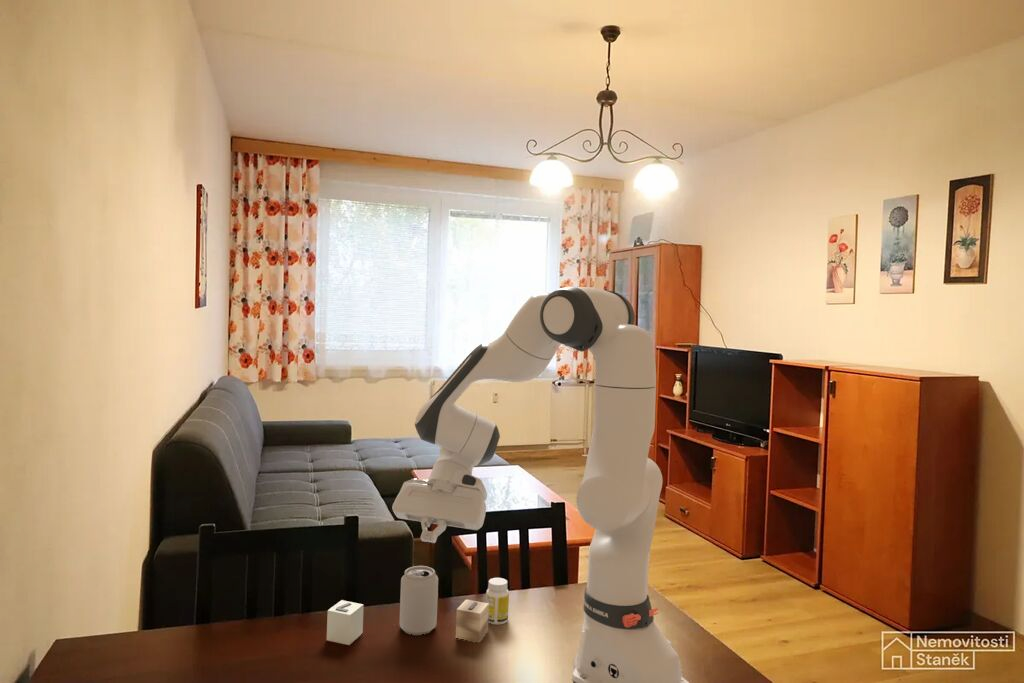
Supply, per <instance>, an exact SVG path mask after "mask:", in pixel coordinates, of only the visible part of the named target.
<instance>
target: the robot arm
mask: <svg viewBox="0 0 1024 683" xmlns="http://www.w3.org/2000/svg"><path fill="white" fill-rule="evenodd" d="M635 317H636V315H635V310H634V308H633V305H632V303H631V302H630V300H628V299H627V298H626V297H625V296H623V295H622V294H620V293H618V292H616V291H611V290H603V289H599V288H597V287H591V286H581V287H580V286H579V287H576V286H565V287H561V288H557V289H556V290H554V291H552V292H547V291H540V292H537V293H534V294H532V295H531V296H530V297H529V298H528V300H526V302H525V303H524V304H523V305H522V306H521V308H519V310H518V311H517V313H516V314H515V315H514V316H513V318H512V320H511V321H510V322H509V325H508V326H507V328H506V329H505V331H504V332H503V334H501V336H499V337H497V339H495V340H494V341H491V342H489V343H481V344H479V345H478V346H477V347H475V348H474V349H473V350H472V351H471V352H470V353H469V354H468V355H467V356H466V357H465V359H464V360H463V361H462V362H461V363H460V364H459V366H457V368H456V369H455V370H454V371H453V373H452V374H451V375H450V376H449V377H448V378H447V379H446V380H445V382H443V384H442V385H441V387H439V389H438V390H437V391H435V393H434V394H433V395H432V396H430V398H429V399H428V400H427V401H426V402H425V403H424V404H423V405H422V406H421V407H420V409H419V411H418V412H417V415H416V418H415V421H414V427H415V429H416V433H417V435H418V437H419V438H420V440H422V441H424V442H427V443H429V444H432V445H437V446H439V447H440V448H439V456H438V457H437V459H436V461H434V464H433V467H432V469H431V472H430V474H429V477H428V479H419V478H418V479H417V478H411V479H409V480H406V481H404V482H403V484H402V486H401V488H400V490H399V493H398V494H397V495H396V498H395V499H394V502H393V503H392V507H391V508H392V512H393V513H394V515H395V516H396V518H398V519H401V520H407V521H415V522H420V524H421V529H422V532H421V535H420V540H421V542H426V543H432V544H436V542H437V539H438V537H439V536H440V535H442V533H443V532H445V531H446V529H447V527H452V528H453V527H454V528H461V529H466V530H472V531H478V530H480V529H481V528H482V527H483V525H484V522H485V518H486V512H487V504H486V500H487V498H488V492H487V490H486V489H487V488H486V486H485V484H484V483H483V481H482V480H481V479H480V478H479V477H476V476H474V475H473V470H474V467H475V466H476V467H478V466H481V465H483V464H486V463H487V462H490V461H491V460H492V459H493V458H494V455H495V454H496V450H497V448H498V447H497V446H498V443H499V440H500V437H501V436H500V435H501V434H500V431H499V427H498V426H497V424H496V423H495V422H493V421H492V420H490V419H489V418H486V417H484V416H482V415H480V414H478V413H475V412H474V411H471V410H469V409H466V408H464V407H463V406H460V405H458V404H457V403H456V402H457V401H458V399H460V397H461V396H462V395H463V393H465V391H466V390H467V389H468V388H469V387H470V386H471V385H472V384H473V383H475V382H477V381H483V380H484V381H485V380H495V381H504V382H507V383H508V382H510V383H523V382H527V381H531V380H532V381H533V380H534V379H536V378H538V377H539V376H540V375H541V374H542V373H543V372H544V371H545V370H546V369H547V366H548V365H549V364H550V363H551V361H552V359H553V358H554V356H555V354H556V353H557V351H558V350H559V348H560V346H561V345H564V346H567V347H570V348H571V349H573V350H576V351H578V352H585V351H587V350H588V351H589V352H590V353H591V354H592V356H593V358H594V363H595V375H594V376H595V377H594V378H595V379H594V404H593V406H594V407H593V408H594V409H593V424H592V425H593V426H592V433H591V437H590V443H589V449H588V452H587V456H586V461H585V467H584V473H583V477H582V480H581V483H580V485H579V488H578V489H577V490H578V491H577V492H576V500H575V501H576V502H575V503H576V506H577V510H578V513H579V515H580V517H581V518H582V520H583V521H584V522H585V523H586V524H587V525H588V526H589V527H591V528H593V529H595V530H594V534H593V535H592V536H593V537H592V540H591V541H590V545H589V549H588V559H587V560H588V562H587V583H586V588H584V592H583V593H584V594H583V611H584V618H583V619H584V620H583V623H582V628H581V632H580V639H579V645H578V650H577V653H576V656H575V658H574V659H575V660H574V661H573V662H574V664H573V665H574V669H573V672H572V679H571V680H572V681H573V682H574V683H690V682H689V681H688V680H687V679H685V677H683V675H682V667H681V660H680V657H679V654H678V653H677V651H676V650H675V649H674V646H673V643H672V642H671V641H670V640H668V639H667V638H666V637H665V635H664V633H663V632H662V631H661V629H660V628H659V626H658V625H657V624H656V623H655V621H654V619H655V617H654V616H656V615H658V614H659V612H657V611H658V610H659V607H655V608H652V604H651V599H650V596H649V594H648V587H649V586H648V585H649V584H648V582H649V567H650V557H651V556H650V555H651V549H652V548H651V547H652V542H653V537H654V533H655V528H656V522H657V516H658V508H659V503H660V497H661V492H662V488H663V484H664V483H663V481H664V480H663V475H662V472H661V468H660V467H659V466H658V464H657V463H656V462H655V461H653V459H651V458H649V452H650V448H651V443H652V439H653V436H654V433H655V427H656V425H655V424H656V403H657V402H656V399H657V398H656V397H657V396H656V395H657V371H656V370H657V368H656V355H655V349H654V342H653V341H654V340H653V338H652V336H651V334H650V333H649V332H648V331H647V330H646V329H645V328H643V327H640V326H639V325H635V321H636V320H635V319H636V318H635ZM431 524H434V525H436V527H435V528H434V529H433V530H431V531H430V530H428V528H430V526H431Z"/></svg>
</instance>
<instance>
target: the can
mask: <svg viewBox="0 0 1024 683" xmlns="http://www.w3.org/2000/svg"><path fill="white" fill-rule="evenodd" d="M438 586H439V577H438V575H437V574H436V571H435V569H434V568H432V567H429V566H427V565H426V566H425V565H416V566H415V565H414V566H410V567H408V568H407V569H405V570H404V575H402V577H401V579H400V599H399V602H400V603H399V604H400V605H399V624H398V625H399V627H400V628H401V630H402V631H403V632H405V633H406V634H408V635H411V634H412V636H421V635H422V634H424V635H427V634H429V633H431V631H433V629H435V628H436V627H437V624H438V623H437V622H438V621H437V618H438V594H439V593H438V590H439V587H438ZM426 633H427V634H426ZM422 636H423V635H422Z"/></svg>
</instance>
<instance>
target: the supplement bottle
mask: <svg viewBox="0 0 1024 683" xmlns="http://www.w3.org/2000/svg"><path fill="white" fill-rule="evenodd" d="M485 593H486V594H485V597H486V598H485V603H489V614H488V624H490V623H491V625H494V626H495V625H496V626H497V625H504V624H506V623H507V622H508V620H509V602H510V600H509V599H510V598H509V597H510V596H509V595H510V591H509V589H508V580H507V579H505V578H502V577H493V578H490V579H489V580H488V586H487V589H486V592H485Z"/></svg>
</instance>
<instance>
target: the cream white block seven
mask: <svg viewBox="0 0 1024 683" xmlns="http://www.w3.org/2000/svg"><path fill="white" fill-rule="evenodd" d="M364 606H365V605H364V604H362V603H357V602H353V601H347V600H344V599H341V600H340V601H338V602H337V603H336V604H333V606H331V607H330V608H329V609H328V610H327V618H326V619H327V620H326V621H327V622H326V641H329V642H333V643H336V644H337V643H338V644H342V645H348V646H350V645H351V644H353V642H355V640H357V639H358V638H359V637H361V636H362V635H363V634H362V633H363V632H364V627H363V626H364ZM361 634H362V635H361Z"/></svg>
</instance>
